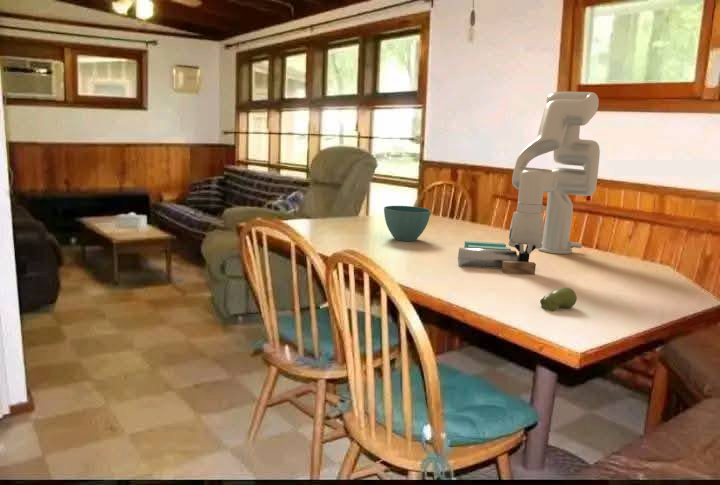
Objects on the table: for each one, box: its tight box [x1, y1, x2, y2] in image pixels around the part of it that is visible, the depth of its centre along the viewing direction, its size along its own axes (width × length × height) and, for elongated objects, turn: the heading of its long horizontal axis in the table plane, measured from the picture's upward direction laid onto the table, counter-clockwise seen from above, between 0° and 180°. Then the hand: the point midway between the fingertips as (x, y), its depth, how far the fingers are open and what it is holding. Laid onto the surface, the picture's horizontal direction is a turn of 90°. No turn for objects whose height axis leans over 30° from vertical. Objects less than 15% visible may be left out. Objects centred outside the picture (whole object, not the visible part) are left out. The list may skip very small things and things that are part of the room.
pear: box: [539, 286, 578, 312], centre depth 151 cm, size 6×5×10 cm
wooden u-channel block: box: [501, 254, 537, 276], centre depth 192 cm, size 10×13×4 cm
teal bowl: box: [383, 205, 431, 242], centre depth 232 cm, size 18×18×12 cm
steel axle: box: [457, 247, 518, 269], centre depth 192 cm, size 18×6×6 cm, turn 88°
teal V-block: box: [463, 240, 512, 250], centre depth 204 cm, size 14×11×5 cm
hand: (523, 264), depth 192 cm, fingers closed
